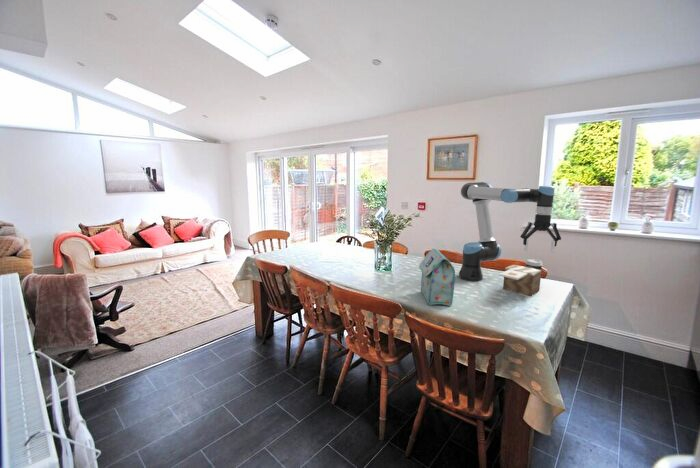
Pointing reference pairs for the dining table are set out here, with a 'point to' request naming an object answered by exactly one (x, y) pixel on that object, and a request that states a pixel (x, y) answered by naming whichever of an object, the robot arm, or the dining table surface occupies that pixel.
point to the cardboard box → (523, 280)
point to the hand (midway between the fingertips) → (538, 251)
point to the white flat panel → (513, 274)
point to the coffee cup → (534, 264)
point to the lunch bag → (437, 278)
